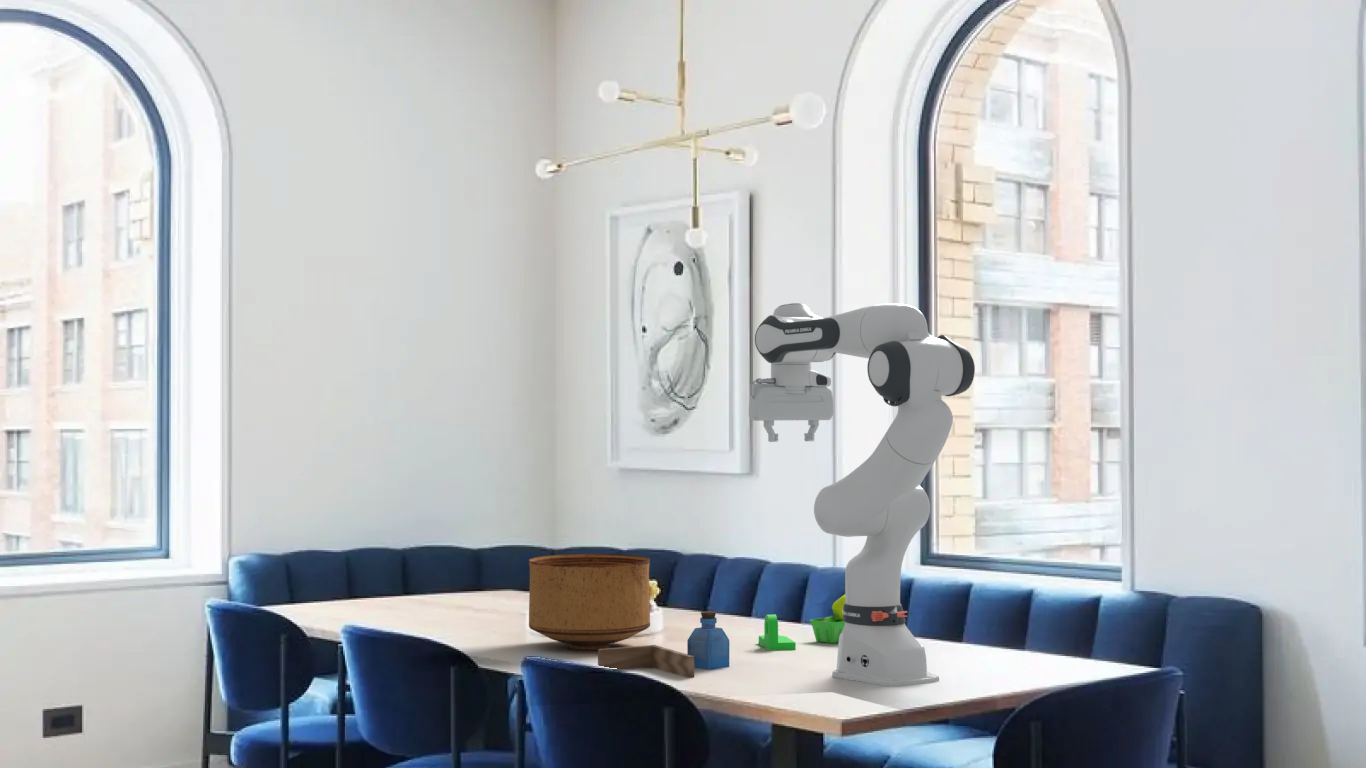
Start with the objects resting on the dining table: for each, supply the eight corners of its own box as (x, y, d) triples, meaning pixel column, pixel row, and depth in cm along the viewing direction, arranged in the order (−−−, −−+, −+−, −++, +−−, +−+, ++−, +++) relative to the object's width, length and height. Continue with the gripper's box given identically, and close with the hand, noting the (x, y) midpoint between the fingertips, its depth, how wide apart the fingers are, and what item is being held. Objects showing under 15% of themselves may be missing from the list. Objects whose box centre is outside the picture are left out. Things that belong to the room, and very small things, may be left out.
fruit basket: (839, 636, 399) (839, 589, 399) (868, 640, 392) (868, 592, 392) (808, 641, 391) (808, 592, 391) (837, 645, 384) (837, 596, 384)
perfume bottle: (729, 669, 349) (729, 612, 349) (709, 673, 344) (709, 614, 345) (707, 666, 353) (707, 609, 353) (687, 670, 349) (687, 612, 349)
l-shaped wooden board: (694, 681, 334) (694, 656, 334) (635, 686, 328) (635, 660, 328) (654, 668, 350) (654, 644, 350) (598, 673, 344) (597, 649, 344)
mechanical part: (795, 651, 376) (795, 615, 376) (769, 651, 375) (769, 616, 375) (784, 643, 388) (784, 609, 388) (758, 644, 387) (758, 609, 387)
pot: (518, 641, 391) (518, 555, 391) (633, 636, 398) (633, 552, 399) (541, 658, 364) (541, 566, 365) (664, 653, 372) (664, 563, 372)
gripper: (758, 377, 358) (758, 442, 358) (837, 378, 368) (837, 441, 368) (743, 378, 364) (743, 442, 364) (821, 378, 374) (821, 440, 374)
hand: (791, 441), depth 366 cm, fingers open, 8 cm apart
